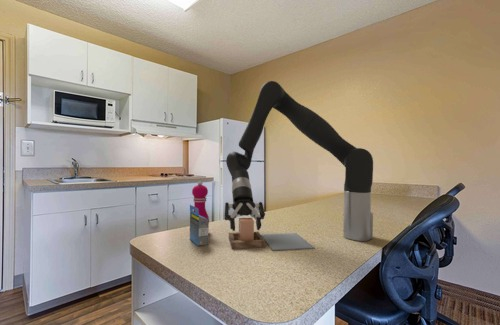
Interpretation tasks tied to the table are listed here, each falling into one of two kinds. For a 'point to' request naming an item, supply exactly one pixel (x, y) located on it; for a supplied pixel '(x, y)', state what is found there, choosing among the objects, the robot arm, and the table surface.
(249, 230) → the terracotta block
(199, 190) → the pepper mill
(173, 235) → the table surface
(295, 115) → the robot arm
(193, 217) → the label tape cartridge
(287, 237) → the slate mat
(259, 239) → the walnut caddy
